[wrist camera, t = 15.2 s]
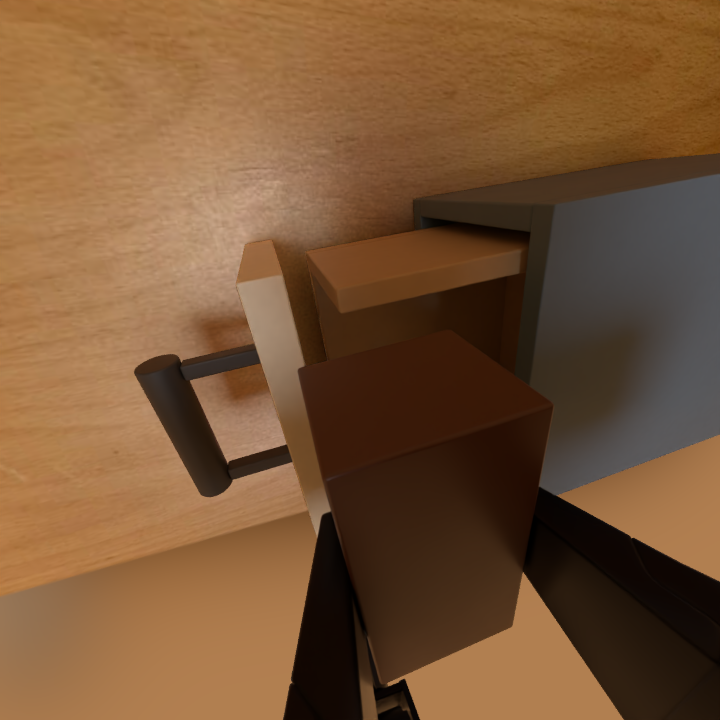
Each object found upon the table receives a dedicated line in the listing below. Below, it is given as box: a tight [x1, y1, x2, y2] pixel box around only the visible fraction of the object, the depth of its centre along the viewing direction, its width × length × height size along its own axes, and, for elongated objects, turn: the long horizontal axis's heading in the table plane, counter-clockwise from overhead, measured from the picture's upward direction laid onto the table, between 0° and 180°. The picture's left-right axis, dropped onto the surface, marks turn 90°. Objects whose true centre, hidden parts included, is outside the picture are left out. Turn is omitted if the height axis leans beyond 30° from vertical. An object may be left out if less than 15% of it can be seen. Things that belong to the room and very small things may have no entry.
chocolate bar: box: [297, 329, 554, 684], centre depth 8 cm, size 4×8×4 cm, turn 8°
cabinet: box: [413, 153, 720, 495], centre depth 17 cm, size 15×13×9 cm
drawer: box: [134, 222, 531, 537], centre depth 15 cm, size 18×11×7 cm, turn 98°
